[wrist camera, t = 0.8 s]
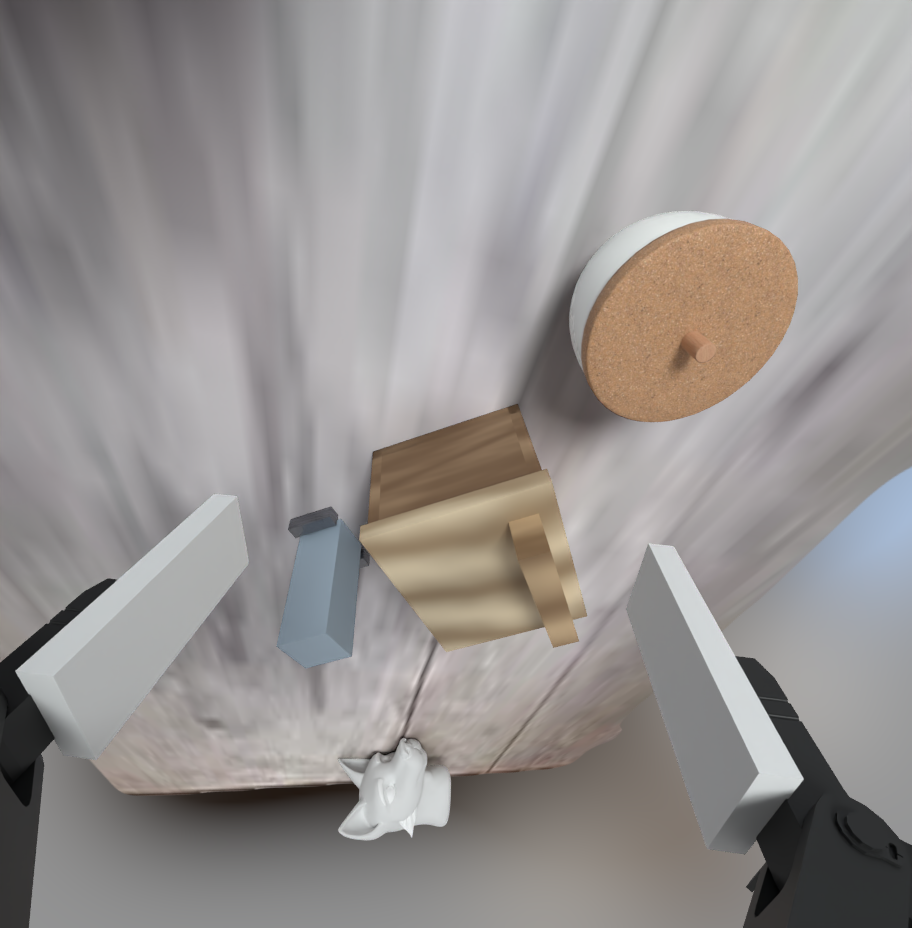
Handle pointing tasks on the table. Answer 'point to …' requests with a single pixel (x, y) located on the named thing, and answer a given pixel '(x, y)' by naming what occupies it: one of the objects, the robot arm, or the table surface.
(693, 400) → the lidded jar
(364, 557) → the pair of grey bars
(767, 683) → the robot arm
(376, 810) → the fox head
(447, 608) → the lid
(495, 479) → the toolbox
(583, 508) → the table surface
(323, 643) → the blue-grey block
